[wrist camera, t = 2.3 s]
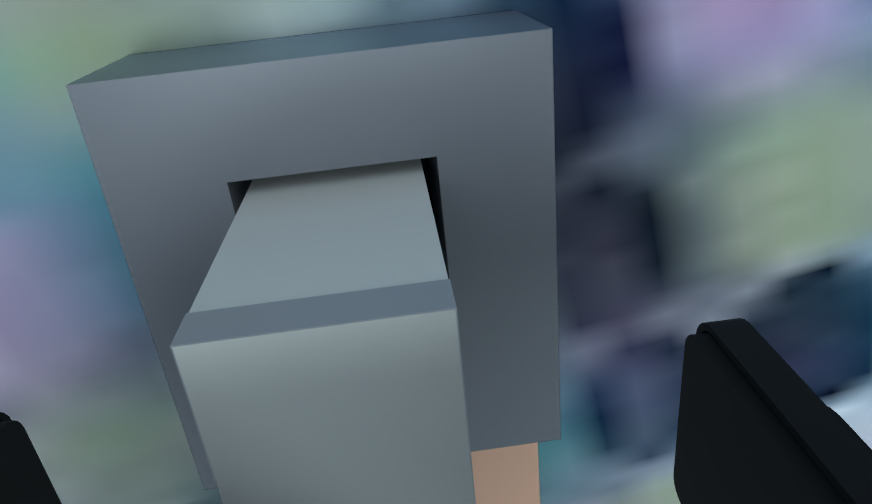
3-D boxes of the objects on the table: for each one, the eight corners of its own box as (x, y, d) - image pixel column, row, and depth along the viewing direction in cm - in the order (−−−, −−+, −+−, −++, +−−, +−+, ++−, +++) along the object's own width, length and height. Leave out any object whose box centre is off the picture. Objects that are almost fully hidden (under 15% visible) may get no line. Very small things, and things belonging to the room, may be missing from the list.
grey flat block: (530, 360, 20) (560, 439, 17) (231, 400, 19) (204, 489, 16) (515, 10, 15) (552, 28, 12) (129, 54, 15) (65, 84, 12)
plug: (433, 300, 19) (483, 575, 11) (306, 316, 19) (257, 610, 10) (413, 126, 16) (456, 307, 8) (268, 144, 16) (170, 345, 8)
